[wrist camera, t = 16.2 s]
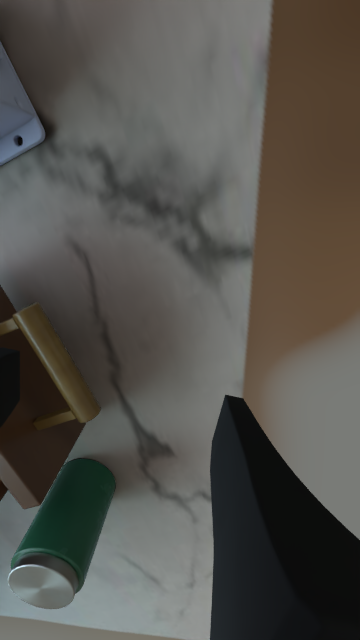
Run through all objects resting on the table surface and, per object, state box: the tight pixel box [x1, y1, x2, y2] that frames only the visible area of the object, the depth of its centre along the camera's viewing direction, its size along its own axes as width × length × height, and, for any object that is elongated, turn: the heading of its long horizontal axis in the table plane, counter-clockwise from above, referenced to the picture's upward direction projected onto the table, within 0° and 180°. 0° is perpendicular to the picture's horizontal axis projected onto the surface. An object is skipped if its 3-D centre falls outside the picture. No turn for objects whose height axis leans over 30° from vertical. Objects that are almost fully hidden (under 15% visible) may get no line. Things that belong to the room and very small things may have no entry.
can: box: [8, 459, 116, 609], centre depth 23 cm, size 5×5×8 cm
